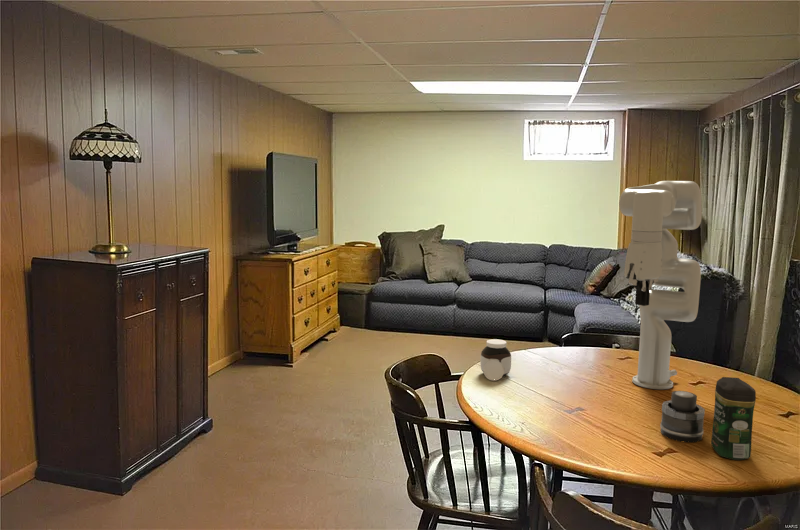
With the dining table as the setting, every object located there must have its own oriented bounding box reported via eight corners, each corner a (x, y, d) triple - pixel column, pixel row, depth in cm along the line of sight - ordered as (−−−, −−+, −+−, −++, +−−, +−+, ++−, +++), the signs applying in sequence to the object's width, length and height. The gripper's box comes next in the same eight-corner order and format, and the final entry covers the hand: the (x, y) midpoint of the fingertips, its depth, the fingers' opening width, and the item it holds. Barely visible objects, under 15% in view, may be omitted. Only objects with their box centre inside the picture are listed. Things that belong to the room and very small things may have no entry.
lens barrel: (677, 424, 170) (679, 397, 169) (711, 438, 161) (714, 410, 160) (651, 431, 165) (653, 403, 164) (685, 445, 156) (687, 417, 155)
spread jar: (502, 369, 217) (503, 337, 216) (519, 379, 207) (520, 346, 205) (472, 373, 213) (473, 340, 212) (487, 383, 203) (488, 349, 201)
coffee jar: (706, 443, 157) (712, 373, 155) (739, 445, 156) (745, 375, 154) (719, 460, 148) (725, 386, 145) (754, 463, 147) (762, 388, 144)
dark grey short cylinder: (680, 407, 166) (681, 388, 165) (700, 414, 161) (701, 395, 160) (665, 411, 163) (666, 392, 162) (685, 418, 158) (687, 399, 157)
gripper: (652, 234, 171) (648, 299, 174) (615, 237, 163) (612, 305, 166) (676, 237, 164) (671, 304, 167) (639, 240, 157) (635, 310, 160)
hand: (642, 304), depth 167 cm, fingers closed
